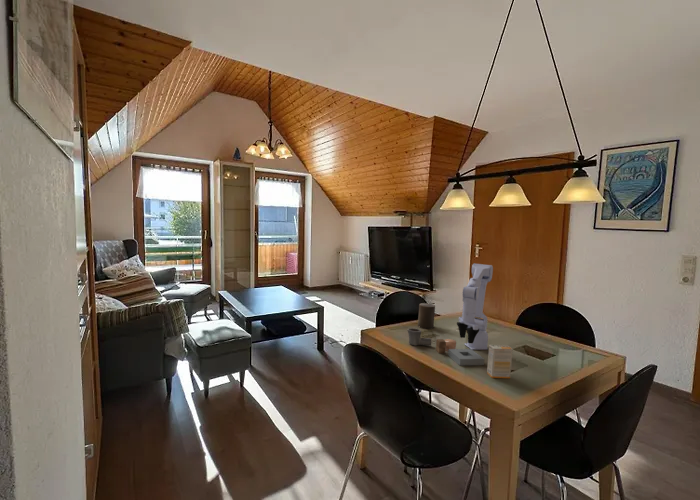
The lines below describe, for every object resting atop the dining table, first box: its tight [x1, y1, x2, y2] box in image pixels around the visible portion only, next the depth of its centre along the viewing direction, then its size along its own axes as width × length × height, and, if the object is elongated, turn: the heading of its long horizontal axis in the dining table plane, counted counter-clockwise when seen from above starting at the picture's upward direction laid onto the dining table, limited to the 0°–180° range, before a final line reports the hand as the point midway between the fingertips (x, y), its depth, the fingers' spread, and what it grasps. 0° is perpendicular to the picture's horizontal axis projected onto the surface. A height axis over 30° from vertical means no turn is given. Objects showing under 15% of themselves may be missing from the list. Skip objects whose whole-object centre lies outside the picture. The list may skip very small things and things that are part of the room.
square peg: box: [435, 338, 446, 354], centre depth 168 cm, size 3×3×6 cm
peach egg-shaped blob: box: [444, 338, 457, 353], centre depth 171 cm, size 6×6×5 cm
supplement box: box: [486, 344, 514, 379], centre depth 144 cm, size 8×5×13 cm, turn 92°
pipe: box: [406, 327, 432, 347], centre depth 176 cm, size 6×13×8 cm, turn 78°
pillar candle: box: [417, 302, 436, 330], centre depth 209 cm, size 10×10×15 cm
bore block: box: [447, 348, 485, 367], centre depth 160 cm, size 12×12×3 cm
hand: (466, 340), depth 159 cm, fingers open, 7 cm apart
